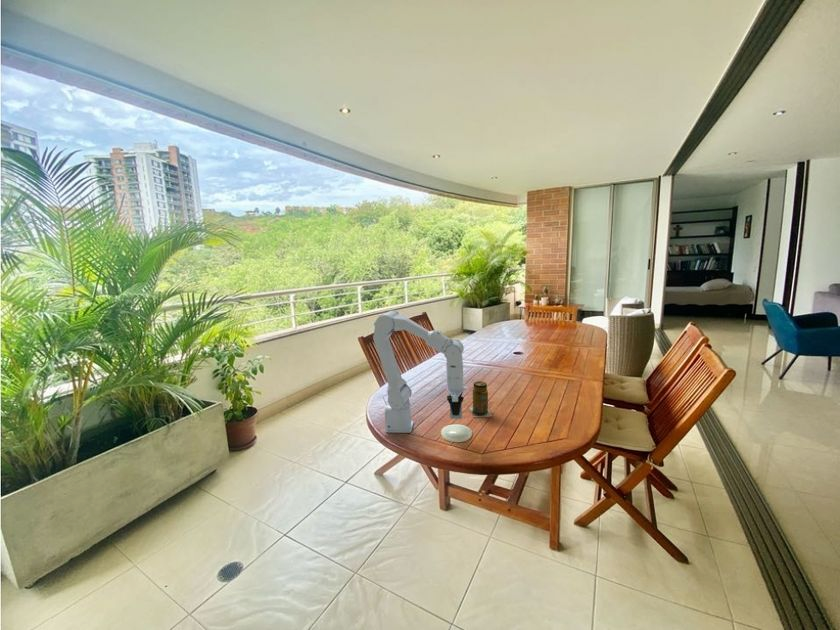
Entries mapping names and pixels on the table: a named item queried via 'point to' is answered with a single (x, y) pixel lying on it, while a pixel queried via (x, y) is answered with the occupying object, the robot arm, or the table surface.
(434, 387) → the table surface
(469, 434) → the dish
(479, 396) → the condiment
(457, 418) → the block
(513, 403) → the table surface
